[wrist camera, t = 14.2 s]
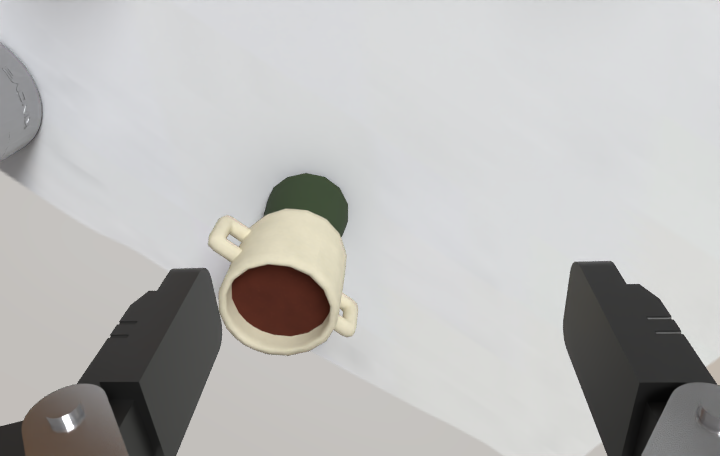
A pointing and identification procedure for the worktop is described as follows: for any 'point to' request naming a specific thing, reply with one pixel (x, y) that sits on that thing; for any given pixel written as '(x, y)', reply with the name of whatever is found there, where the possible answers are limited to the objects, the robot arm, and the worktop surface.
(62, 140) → the worktop surface
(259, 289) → the character mug
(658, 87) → the worktop surface
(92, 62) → the worktop surface
